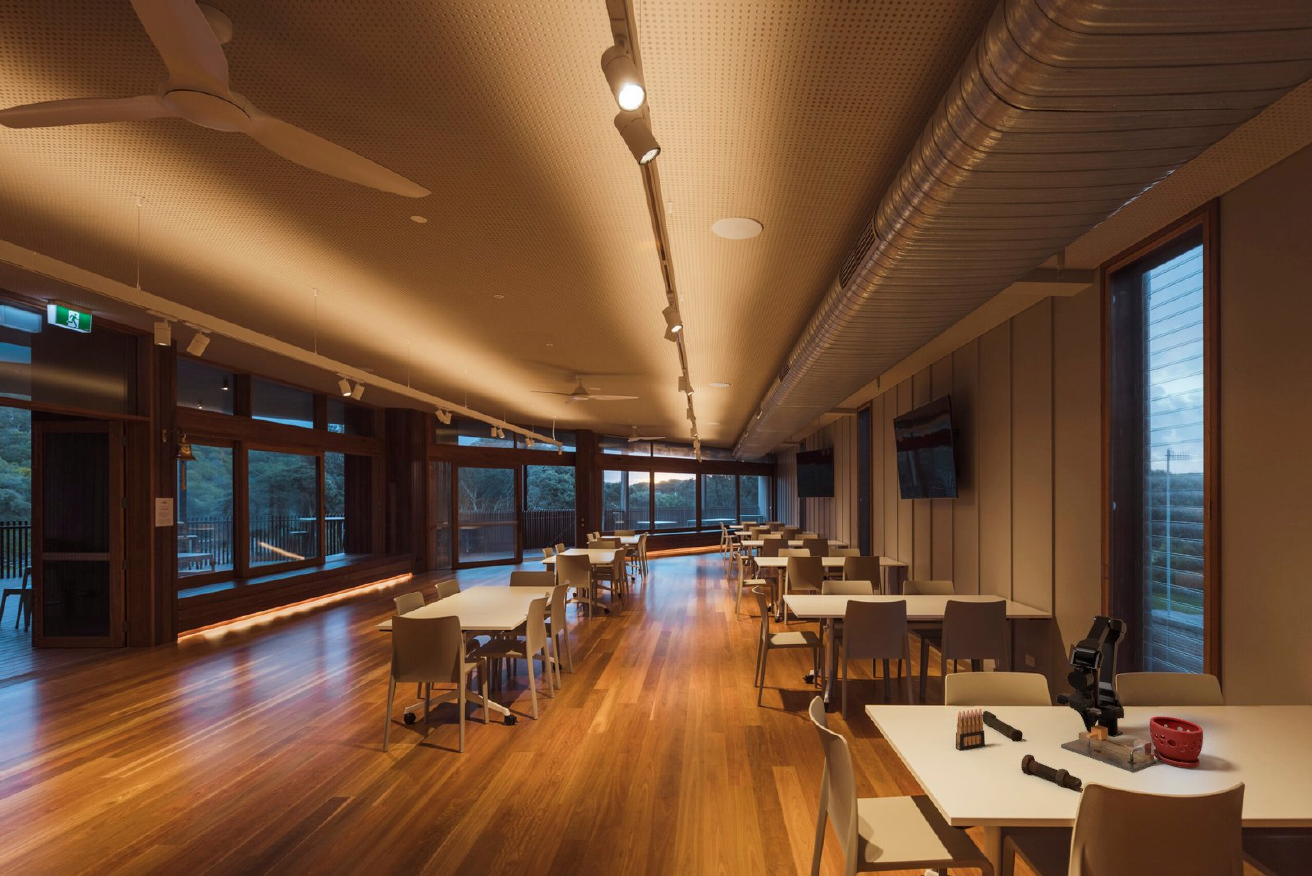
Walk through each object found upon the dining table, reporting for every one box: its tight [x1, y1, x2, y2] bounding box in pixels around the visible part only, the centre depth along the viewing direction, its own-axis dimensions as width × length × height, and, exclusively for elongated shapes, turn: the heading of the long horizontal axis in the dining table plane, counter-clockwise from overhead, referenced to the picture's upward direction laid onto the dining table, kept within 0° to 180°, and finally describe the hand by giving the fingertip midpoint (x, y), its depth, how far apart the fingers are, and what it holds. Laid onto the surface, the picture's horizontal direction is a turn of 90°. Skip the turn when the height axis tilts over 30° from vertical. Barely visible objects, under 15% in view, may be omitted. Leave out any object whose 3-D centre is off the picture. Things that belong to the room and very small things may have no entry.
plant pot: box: [1149, 715, 1204, 769], centre depth 209 cm, size 13×13×12 cm
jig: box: [1060, 731, 1157, 773], centre depth 213 cm, size 14×21×6 cm, turn 29°
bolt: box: [1020, 754, 1083, 791], centre depth 193 cm, size 6×5×15 cm
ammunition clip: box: [955, 708, 986, 752], centre depth 218 cm, size 11×2×12 cm, turn 112°
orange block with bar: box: [1087, 724, 1109, 747], centre depth 218 cm, size 9×3×5 cm, turn 119°
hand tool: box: [982, 710, 1024, 742], centre depth 232 cm, size 19×4×5 cm, turn 5°
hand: (1089, 732), depth 222 cm, fingers closed
